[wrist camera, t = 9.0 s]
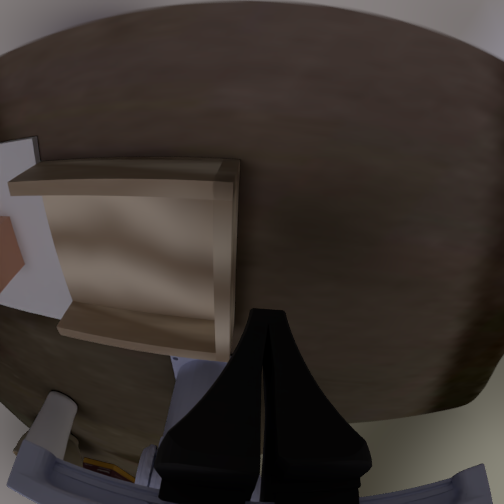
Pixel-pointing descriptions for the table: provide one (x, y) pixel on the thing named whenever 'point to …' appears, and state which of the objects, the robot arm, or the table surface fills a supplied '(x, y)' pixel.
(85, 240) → the open box
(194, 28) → the table surface
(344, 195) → the table surface
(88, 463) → the supplement box
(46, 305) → the mat
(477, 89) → the table surface
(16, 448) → the planter bowl
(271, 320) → the robot arm
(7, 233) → the block
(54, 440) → the drinking glass
